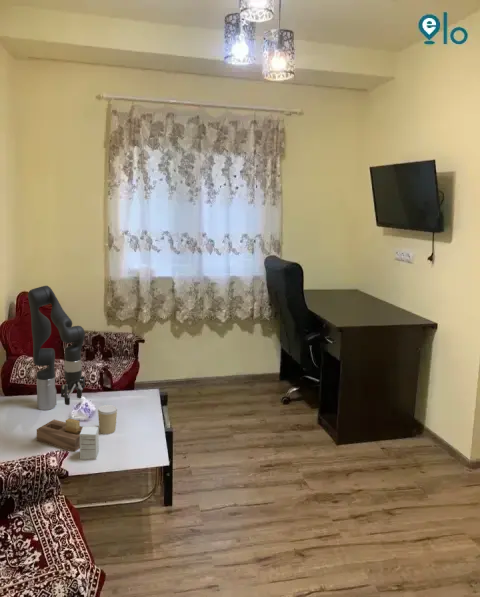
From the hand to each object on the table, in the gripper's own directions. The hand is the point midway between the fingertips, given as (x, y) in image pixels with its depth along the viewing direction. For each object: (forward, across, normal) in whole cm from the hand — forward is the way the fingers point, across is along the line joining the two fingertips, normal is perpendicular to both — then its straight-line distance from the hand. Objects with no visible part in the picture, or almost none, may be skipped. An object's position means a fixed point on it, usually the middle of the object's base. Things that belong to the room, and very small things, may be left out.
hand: (73, 401), depth 244 cm
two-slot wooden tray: (+21, 0, -6) cm, 22 cm away
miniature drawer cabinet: (+22, +6, +14) cm, 26 cm away
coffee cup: (+22, -18, +6) cm, 29 cm away
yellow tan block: (+20, 0, 0) cm, 20 cm away
